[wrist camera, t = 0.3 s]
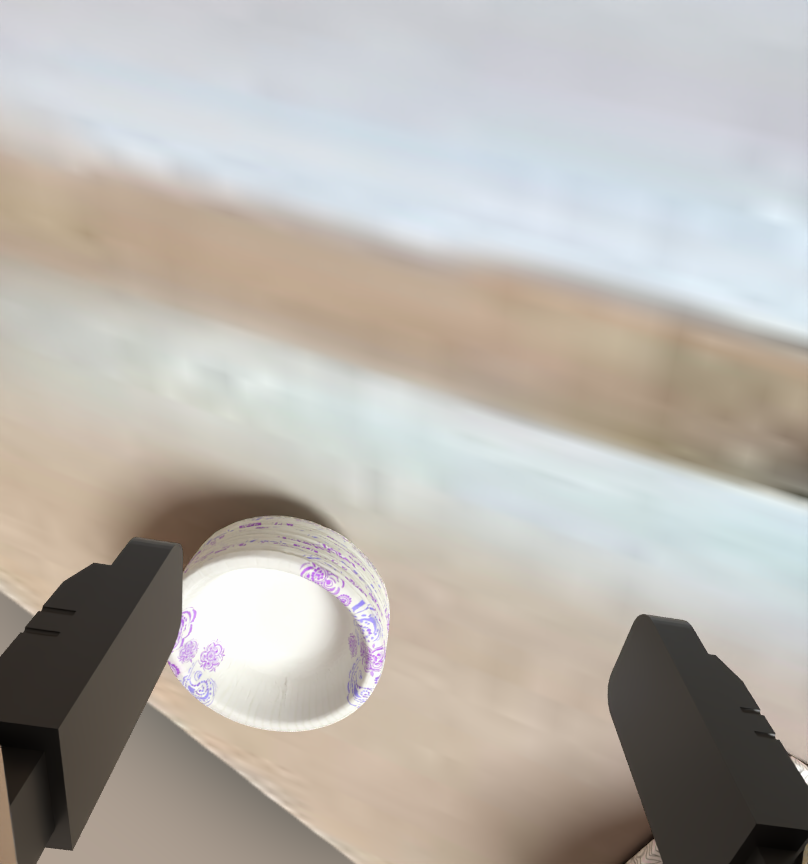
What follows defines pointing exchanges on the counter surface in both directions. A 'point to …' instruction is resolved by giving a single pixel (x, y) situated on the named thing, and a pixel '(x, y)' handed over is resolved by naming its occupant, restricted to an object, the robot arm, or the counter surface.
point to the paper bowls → (281, 625)
